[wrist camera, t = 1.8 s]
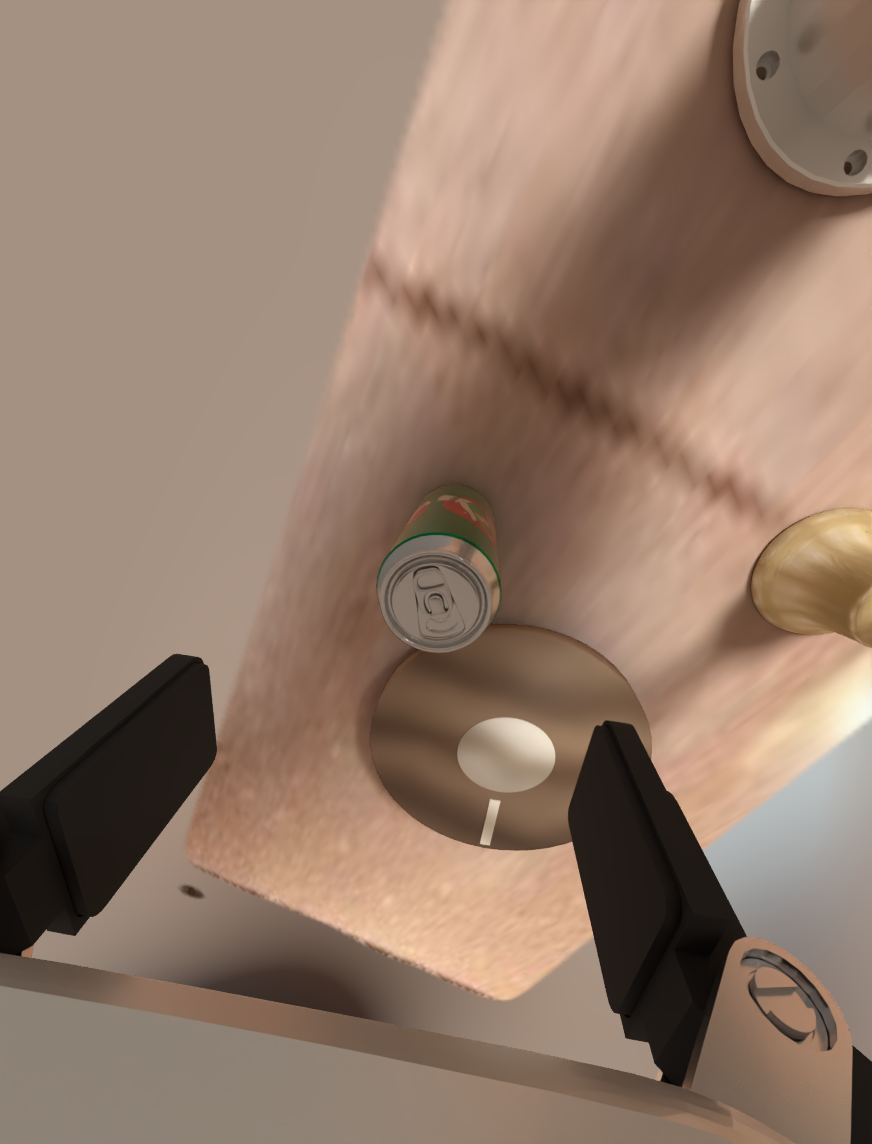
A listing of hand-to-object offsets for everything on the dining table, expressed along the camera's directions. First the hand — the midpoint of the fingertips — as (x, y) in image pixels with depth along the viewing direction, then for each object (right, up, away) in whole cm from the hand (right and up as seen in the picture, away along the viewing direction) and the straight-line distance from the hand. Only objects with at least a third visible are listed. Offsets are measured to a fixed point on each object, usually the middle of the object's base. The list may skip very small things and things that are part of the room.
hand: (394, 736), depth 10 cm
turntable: (+6, -9, +22) cm, 24 cm away
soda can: (+2, +7, +17) cm, 19 cm away
